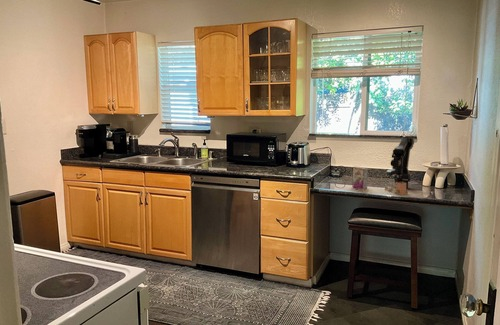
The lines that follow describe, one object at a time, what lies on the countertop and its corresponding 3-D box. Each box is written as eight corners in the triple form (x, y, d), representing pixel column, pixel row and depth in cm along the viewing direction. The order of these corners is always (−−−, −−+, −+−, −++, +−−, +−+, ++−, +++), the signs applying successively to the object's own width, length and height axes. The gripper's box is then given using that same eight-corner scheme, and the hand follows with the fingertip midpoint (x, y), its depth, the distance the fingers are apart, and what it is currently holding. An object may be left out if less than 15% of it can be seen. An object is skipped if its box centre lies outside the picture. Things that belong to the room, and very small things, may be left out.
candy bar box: (352, 187, 315) (352, 166, 313) (356, 186, 318) (357, 166, 315) (362, 189, 306) (363, 168, 303) (367, 189, 308) (368, 168, 306)
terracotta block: (395, 192, 292) (396, 182, 291) (401, 192, 293) (402, 181, 292) (399, 194, 287) (400, 183, 286) (405, 193, 288) (406, 183, 287)
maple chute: (384, 190, 303) (385, 185, 302) (394, 190, 305) (394, 185, 304) (397, 195, 287) (397, 190, 287) (407, 194, 289) (407, 189, 289)
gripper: (381, 163, 299) (380, 184, 301) (395, 167, 281) (394, 189, 283) (394, 163, 301) (393, 183, 304) (409, 167, 283) (408, 188, 286)
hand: (397, 186), depth 294 cm, fingers closed
